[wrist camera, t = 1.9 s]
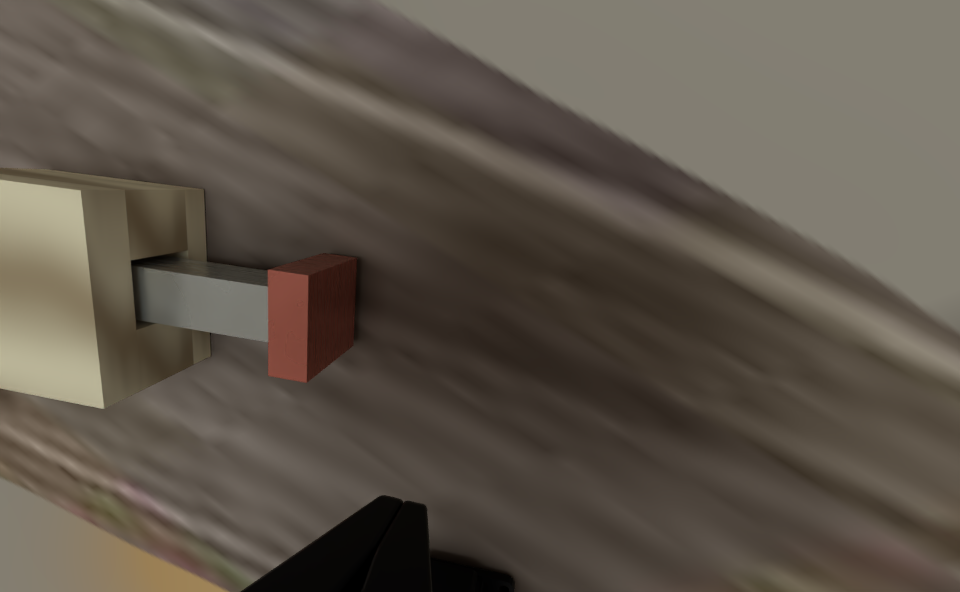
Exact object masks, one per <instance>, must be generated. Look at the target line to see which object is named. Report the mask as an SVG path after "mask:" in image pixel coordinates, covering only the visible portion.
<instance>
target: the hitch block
mask: <svg viewBox="0 0 960 592" xmlns="http://www.w3.org/2000/svg"><path fill="white" fill-rule="evenodd" d="M158 255H166V256H172V257H179V258H186V259H192V260H199V261H206V262H207V251H206V227H205V203H204V189H197V188H190V187H182V186H174V185H166V184H158V183H150V182H143V181H135V180H127V179H119V178H111V177H104V176H96V175H88V174H80V173H72V172H64V171H57V170H49V169H18V168H0V388H1V389H6V390H11V391H16V392H21V393H26V394H31V395H37V396H42V397H47V398H52V399H57V400H62V401H67V402H72V403H77V404H82V405H87V406H92V407H97V408H102V409H105V408H107V407H109V406H111V405H113V404H115V403H117V402H119V401H121V400H123V399H125V398H127V397H129V396H131V395H133V394H135V393H137V392H139V391H141V390H143V389H145V388H148V387H150V386H152V385H154V384H156V383H158V382H160V381H162V380H164V379H166V378H168V377H170V376H172V375H174V374H176V373H178V372H180V371H182V370H184V369H186V368H188V367H190V366H192V365H194V364H196V363H198V362H200V361H202V360H204V359H206V358H208V357H210V356H211V349H210V332H205V331H199V330H193V329H187V328H181V327H175V326H170V325H164V324H158V323H152V322H146V321H140V320H136V319H135V307H134V295H133V283H132V272H131V260H135V259H141V258H147V257H152V256H158Z"/></svg>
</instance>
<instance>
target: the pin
mask: <svg viewBox="0 0 960 592" xmlns="http://www.w3.org/2000/svg"><path fill="white" fill-rule="evenodd" d="M356 270H357V258H355V257H348V256H341V255H334V254H327V253H323V254H319V255H316V256H312V257H309V258H305V259H302V260H299V261H295V262H292V263H288V264H285V265H281V266H278V267H275V268H271V269H268V271H266V270H259V269H253V268H246V267H239V266H233V265H226V264H219V263H212V262H206V261H199V260H192V259H186V258H179V257H172V256H166V255H158V256H152V257H147V258H141V259H135V260H131V272H132V283H133V295H134V307H135V319H136V320H140V321H146V322H152V323H158V324H164V325H170V326H175V327H181V328H187V329H193V330H199V331H205V332H211V333H217V334H222V335H228V336H234V337H240V338H246V339H252V340H258V341H264V342H268V376H272V377H278V378H283V379H289V380H294V381H300V382H305V383H307V382H308V381H309V380H311V379H312V378H313V377H314V376H316V375H317V374H318V373H319V372H321V371H322V370H323V369H325V368H326V367H327V366H328V365H330V364H331V363H332V362H333V361H335V360H336V359H337V358H338V357H340V356H341V355H342V354H343V353H345V352H346V351H347V350H348V349H350V348H351V347H352V346H353V339H354V316H355V293H356Z"/></svg>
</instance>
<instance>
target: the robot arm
mask: <svg viewBox="0 0 960 592" xmlns="http://www.w3.org/2000/svg"><path fill="white" fill-rule="evenodd" d="M503 586H507V587H503ZM514 590H515V582H514V580H513V578H511V577H510V576H508V575H505V574H500V573H496V572H491V571H487V570H482V569H478V568H473V567H469V566H464V565H460V564H456V563H451V562H447V561H442V560H438V559H433V558H430V548H429V532H428V516H427V507H426V505H424V504H420V503H416V502H412V501H405V502H404V503H403V501H402V500H401V499H398V498H394V497H390V496H385V495H382V496H379V497H377V498H376V499H375V500H373V501H372V502H370V503H369V504H367V505H366V506H364V507H363V508H361V509H360V510H359V511H357V512H356V513H354V514H353V515H351V516H350V517H348V518H347V519H345V520H344V521H343V522H341V523H340V524H338V525H337V526H335V527H334V528H332V529H331V530H329V531H328V532H327V533H325V534H324V535H322V536H321V537H319V538H318V539H316V540H315V541H313V542H312V543H311V544H309V545H308V546H306V547H305V548H303V549H302V550H300V551H299V552H297V553H296V554H295V555H293V556H292V557H290V558H289V559H287V560H286V561H284V562H283V563H281V564H280V565H279V566H277V567H276V568H274V569H273V570H271V571H270V572H268V573H267V574H265V575H264V576H263V577H261V578H260V579H258V580H257V581H255V582H254V583H252V584H251V585H249V586H248V587H247V588H245V589H244V590H242V591H241V592H514Z"/></svg>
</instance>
